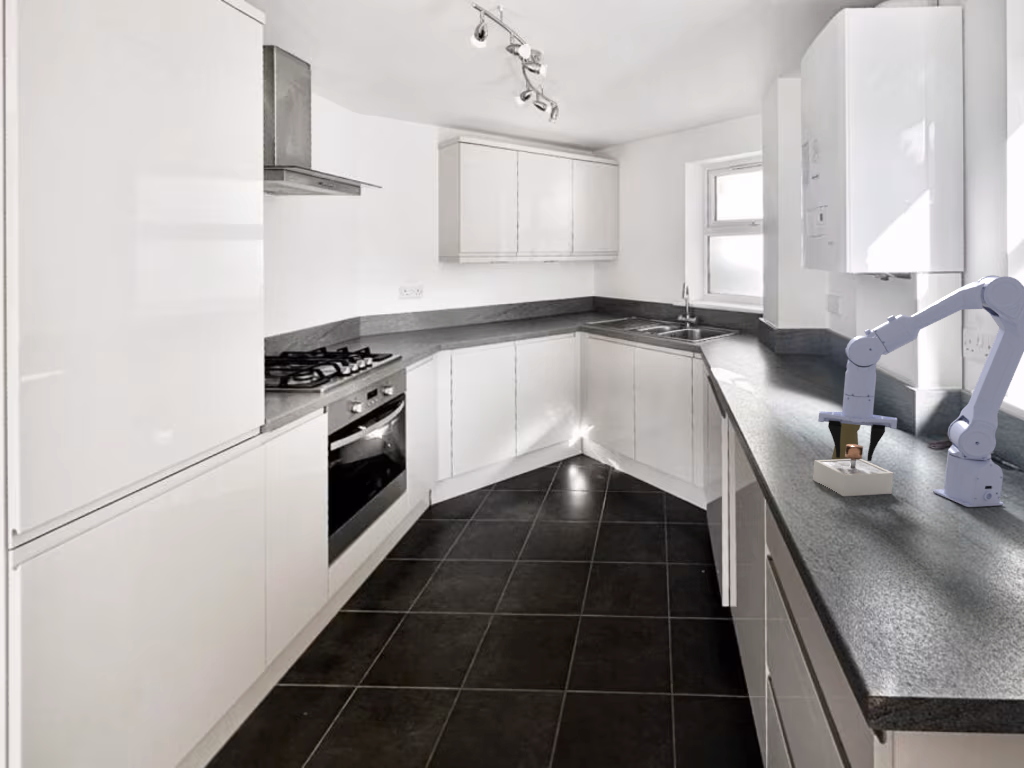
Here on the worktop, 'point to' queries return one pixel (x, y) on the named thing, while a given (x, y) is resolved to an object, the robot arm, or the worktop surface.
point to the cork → (847, 439)
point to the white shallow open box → (853, 479)
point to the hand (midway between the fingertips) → (853, 458)
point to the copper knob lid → (853, 462)
